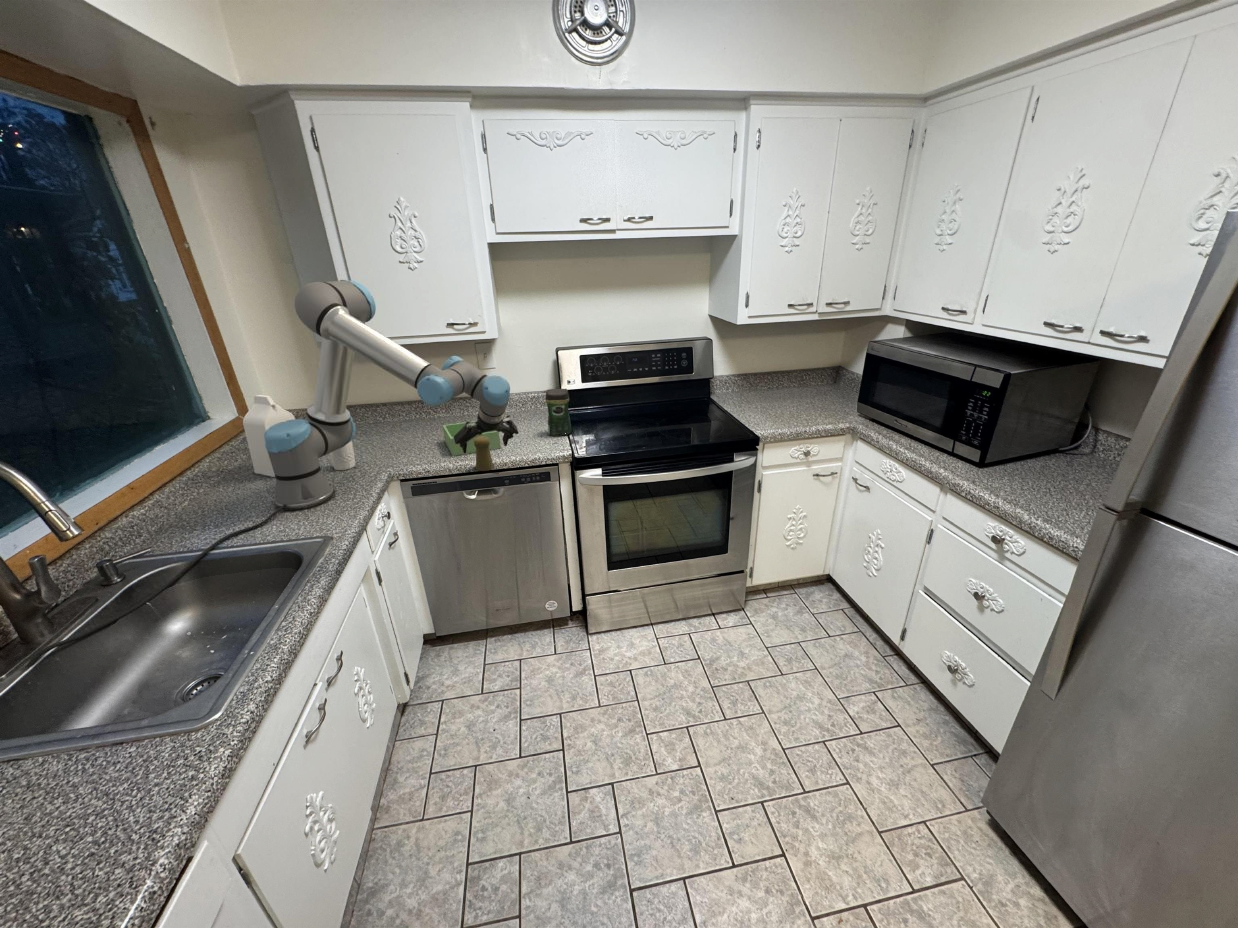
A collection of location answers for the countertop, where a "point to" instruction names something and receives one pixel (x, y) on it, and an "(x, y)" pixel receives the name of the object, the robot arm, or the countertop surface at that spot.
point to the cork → (483, 454)
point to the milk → (262, 430)
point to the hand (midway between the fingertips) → (484, 445)
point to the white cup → (343, 457)
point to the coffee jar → (558, 412)
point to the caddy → (457, 450)
